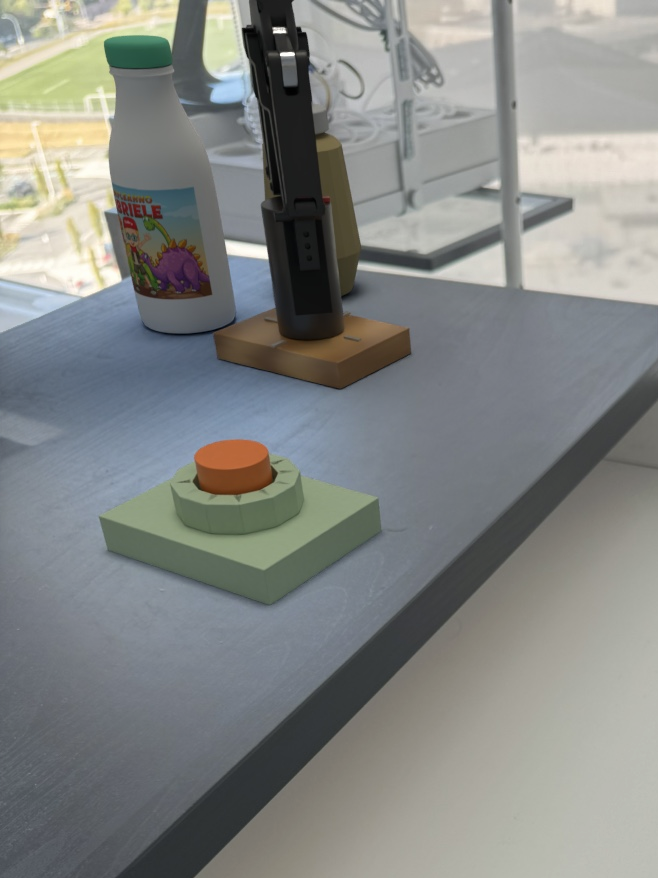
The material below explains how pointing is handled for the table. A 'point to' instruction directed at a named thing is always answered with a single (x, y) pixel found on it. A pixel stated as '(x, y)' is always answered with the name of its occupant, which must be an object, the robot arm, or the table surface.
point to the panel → (314, 349)
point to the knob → (277, 256)
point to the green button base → (244, 530)
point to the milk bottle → (165, 195)
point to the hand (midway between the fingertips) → (308, 300)
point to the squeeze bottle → (334, 198)
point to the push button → (233, 467)
